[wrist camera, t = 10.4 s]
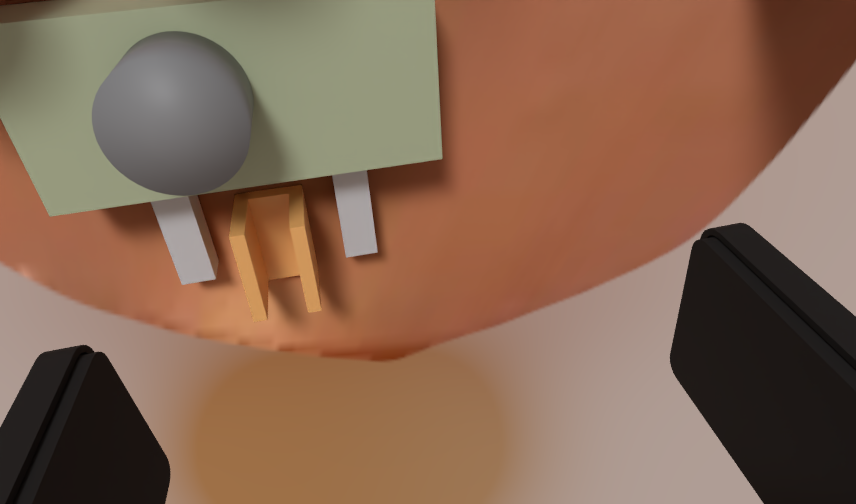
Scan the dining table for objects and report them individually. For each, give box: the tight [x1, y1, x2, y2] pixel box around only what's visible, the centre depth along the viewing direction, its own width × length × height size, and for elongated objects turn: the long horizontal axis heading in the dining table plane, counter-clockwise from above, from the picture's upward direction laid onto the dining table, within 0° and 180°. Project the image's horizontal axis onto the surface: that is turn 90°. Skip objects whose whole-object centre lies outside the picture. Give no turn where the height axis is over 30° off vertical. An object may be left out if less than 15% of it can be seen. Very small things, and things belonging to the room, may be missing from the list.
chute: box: [229, 185, 322, 322], centre depth 35 cm, size 4×6×5 cm, turn 3°
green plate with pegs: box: [0, 0, 442, 285], centre depth 30 cm, size 20×16×8 cm
